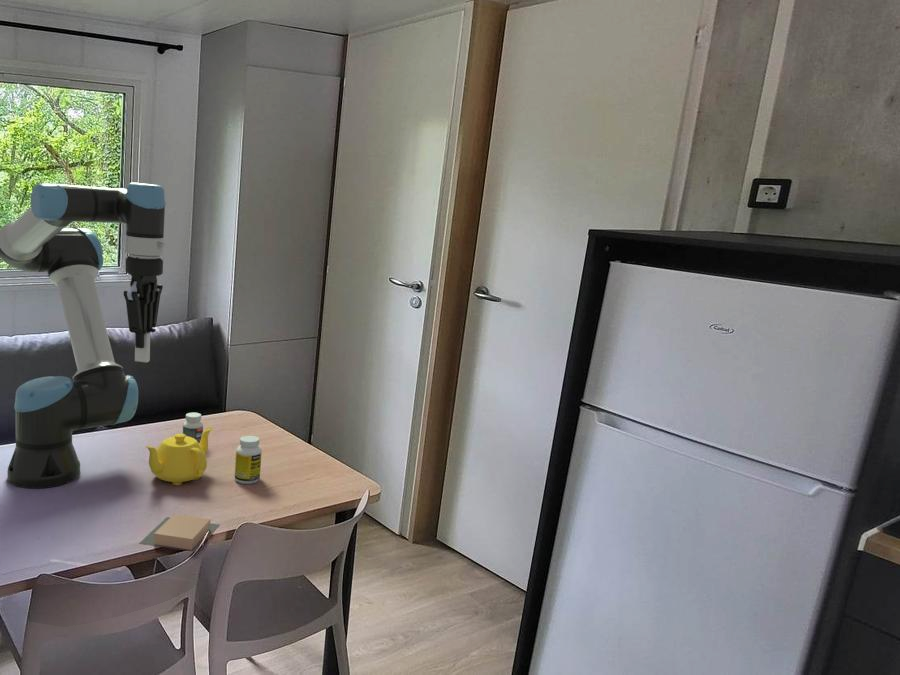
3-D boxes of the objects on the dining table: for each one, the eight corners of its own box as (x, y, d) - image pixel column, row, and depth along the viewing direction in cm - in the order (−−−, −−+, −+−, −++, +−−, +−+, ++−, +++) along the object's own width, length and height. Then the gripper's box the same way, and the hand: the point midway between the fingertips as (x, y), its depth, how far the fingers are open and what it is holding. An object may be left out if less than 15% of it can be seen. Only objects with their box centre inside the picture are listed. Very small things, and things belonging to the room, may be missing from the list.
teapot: (168, 501, 165) (169, 455, 162) (125, 483, 171) (126, 438, 169) (233, 476, 182) (235, 433, 180) (192, 460, 189) (194, 419, 186)
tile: (174, 524, 154) (153, 544, 145) (174, 513, 153) (154, 533, 144) (210, 530, 153) (191, 550, 144) (210, 519, 153) (192, 539, 144)
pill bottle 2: (252, 486, 177) (255, 444, 175) (230, 482, 178) (232, 440, 176) (264, 477, 183) (266, 436, 181) (242, 473, 184) (244, 432, 182)
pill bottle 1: (198, 449, 196) (199, 418, 194) (179, 447, 196) (180, 416, 194) (204, 442, 201) (206, 412, 199) (186, 440, 201) (187, 410, 199)
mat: (139, 545, 145) (139, 543, 145) (166, 518, 157) (166, 517, 157) (196, 553, 144) (196, 551, 144) (219, 526, 156) (219, 524, 156)
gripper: (146, 260, 148) (143, 370, 153) (175, 255, 161) (171, 356, 166) (111, 256, 148) (110, 365, 153) (142, 251, 161) (140, 352, 166)
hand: (142, 360), depth 159 cm, fingers closed
